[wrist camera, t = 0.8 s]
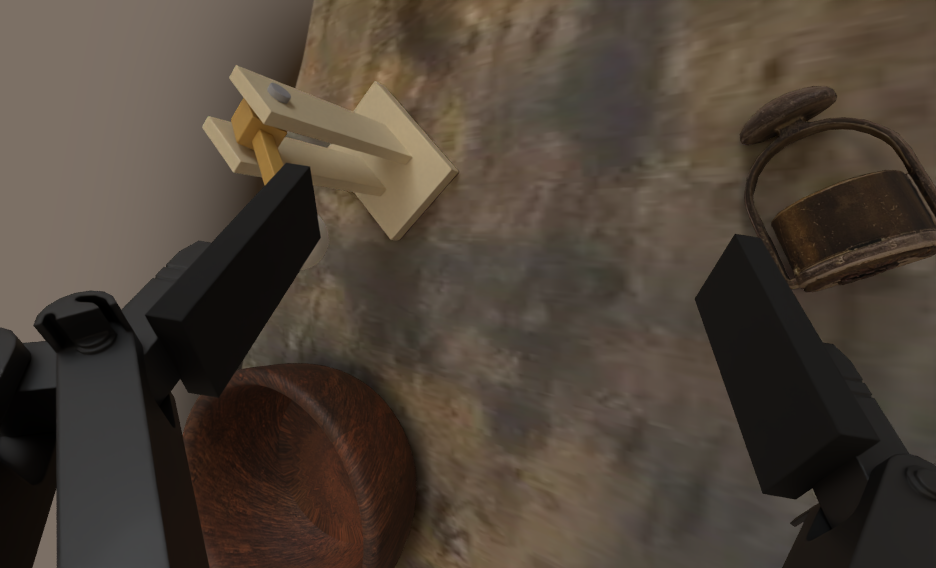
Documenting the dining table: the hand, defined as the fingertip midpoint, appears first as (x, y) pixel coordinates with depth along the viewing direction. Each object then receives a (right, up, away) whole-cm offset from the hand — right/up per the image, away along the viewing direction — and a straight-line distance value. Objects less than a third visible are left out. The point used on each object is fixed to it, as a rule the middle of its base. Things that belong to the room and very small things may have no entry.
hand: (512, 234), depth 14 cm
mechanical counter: (+22, +4, +15) cm, 27 cm away
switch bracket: (-9, +10, +29) cm, 32 cm away
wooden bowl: (-15, -21, +35) cm, 44 cm away
